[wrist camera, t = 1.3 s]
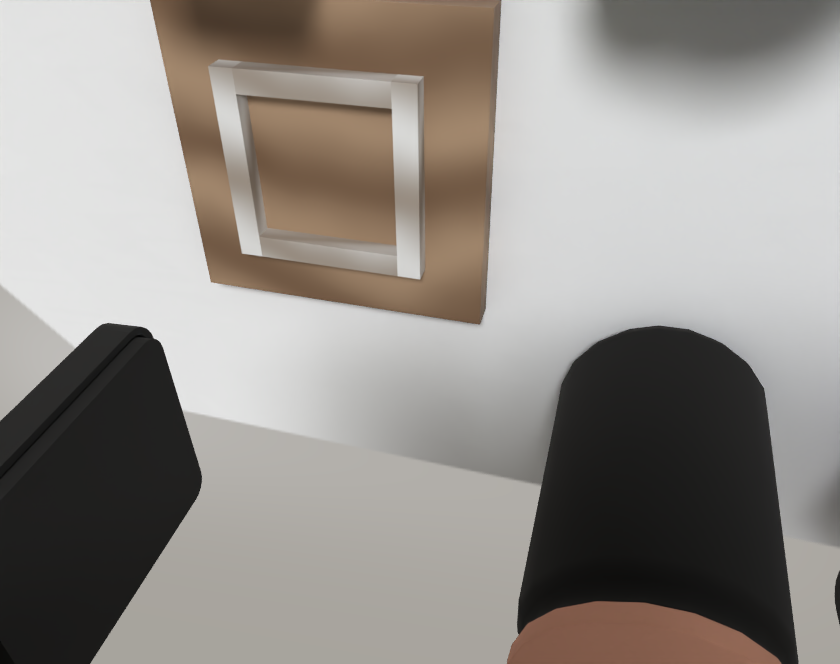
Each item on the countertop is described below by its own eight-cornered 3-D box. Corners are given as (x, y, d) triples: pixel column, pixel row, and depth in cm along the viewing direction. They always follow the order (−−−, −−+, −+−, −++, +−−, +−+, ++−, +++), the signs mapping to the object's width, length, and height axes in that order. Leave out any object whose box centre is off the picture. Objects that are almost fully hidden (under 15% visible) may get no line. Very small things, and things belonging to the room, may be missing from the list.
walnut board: (164, -20, 35) (134, -8, 33) (501, -1, 31) (489, 14, 30) (223, 268, 45) (202, 291, 43) (485, 308, 41) (475, 335, 39)
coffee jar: (569, 457, 46) (520, 754, 32) (554, 315, 40) (485, 603, 26) (759, 469, 42) (794, 807, 29) (772, 314, 37) (824, 647, 23)
